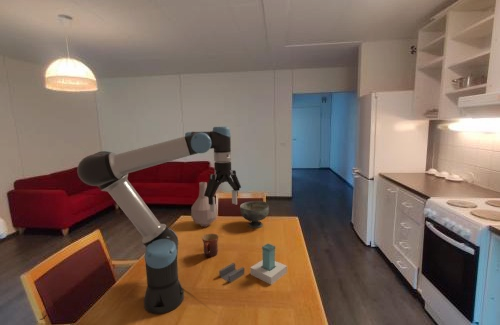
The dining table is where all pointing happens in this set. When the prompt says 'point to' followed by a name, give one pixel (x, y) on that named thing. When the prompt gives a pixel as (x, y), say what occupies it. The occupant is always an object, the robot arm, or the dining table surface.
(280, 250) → the dining table surface
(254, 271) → the port
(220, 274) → the grey u-shaped block
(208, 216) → the vase
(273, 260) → the plug
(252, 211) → the bowl
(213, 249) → the mug
